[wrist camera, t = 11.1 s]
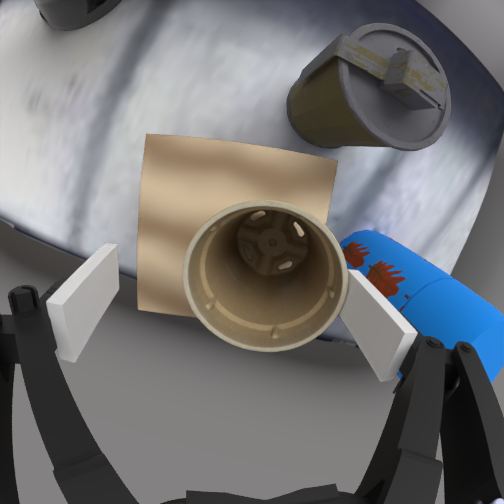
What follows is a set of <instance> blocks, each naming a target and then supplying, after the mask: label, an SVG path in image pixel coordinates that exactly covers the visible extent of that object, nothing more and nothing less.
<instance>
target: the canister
mask: <svg viewBox="0 0 504 504" xmlns="http://www.w3.org/2000/svg"><path fill="white" fill-rule="evenodd" d="M287 111H288V116H289V120H290V122H291V124H292V126H293V128H294V129H295V131H296V132H297V133H298V134H299V135H300V136H301V137H302V138H303V139H304V140H306V141H307V142H309V143H311V144H313V145H315V146H318V147H321V148H328V149H332V148H339V147H343V146H368V147H392V148H395V149H398V150H402V151H417V150H421V149H423V148H426V147H428V146H430V145H432V144H434V143H435V142H436V141H437V140H438V139H439V138H440V136H441V135H442V134H443V132H444V130H445V128H446V126H447V123H448V120H449V117H450V111H451V99H450V89H449V84H448V82H447V79H446V76H445V73H444V71H443V69H442V66H441V65H440V63H439V61H438V60H437V58H436V57H435V55H434V54H433V53H432V51H431V50H430V49H429V48H428V47H427V46H426V45H425V44H424V43H423V42H422V41H421V40H420V39H419V38H417V37H416V36H415V35H413V34H412V33H410V32H409V31H407V30H405V29H403V28H400V27H398V26H394V25H391V24H384V23H372V24H368V25H364V26H361V27H360V28H358V29H357V30H355V31H354V32H352V33H351V34H350V35H349V36H348V35H346V34H341V35H339V36H338V37H337V38H336V39H335V40H334V41H333V42H332V43H331V44H329V45H328V46H327V47H326V48H325V49H324V50H323V51H322V52H321V53H320V54H319V55H318V56H317V57H316V58H314V59H313V60H312V61H311V62H310V63H309V64H308V65H307V66H306V67H305V68H304V69H303V70H302V73H301V75H300V77H299V79H298V80H297V81H296V82H295V83H294V85H293V86H292V88H291V90H290V92H289V95H288V98H287Z"/></svg>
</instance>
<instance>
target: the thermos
mask: <svg viewBox="0 0 504 504" xmlns="http://www.w3.org/2000/svg"><path fill="white" fill-rule="evenodd" d="M340 247H341V249H342V252H343V254H344V258H345V261H346V264H347V269H350V270H358V271H359V272H360V273H361V274H362V275H363V276H364V277H365V278H366V279H367V280H368V281H369V282H370V283H371V284H372V285H373V286H374V287H375V288H376V289H377V290H378V291H379V292H380V293H381V294H382V295H383V296H384V297H385V298H386V299H387V300H388V301H389V302H390V303H391V304H392V305H393V306H394V307H395V308H396V310H398V311H399V312H401V313H402V314H404V315H405V317H406V318H407V319H408V320H409V321H410V322H411V323H412V325H414V326H415V327H416V328H417V329H418V330H419V332H420V333H421V334H422V335H423V336H431V337H435V338H437V339H438V340H440V341H441V342H442V343H443V344H444V346H445V348H446V349H453V348H454V346H455V344H456V343H457V342H458V341H464V342H468V343H470V344H471V345H472V346H473V347H474V348H475V350H476V351H477V353H478V356H479V358H480V360H481V362H482V364H483V366H484V369H485V371H486V373H487V376H488V378H489V380H490V383H491V382H492V381H493V380H494V379H495V377H496V376H497V374H498V373H499V371H500V370H501V368H502V367H503V365H504V316H503V314H501V313H500V312H499V311H498V310H497V309H496V308H495V307H494V306H492V305H491V304H489V303H488V302H487V301H485V300H484V299H482V298H481V297H480V296H478V295H477V294H475V293H474V292H473V291H471V290H470V289H468V288H467V287H466V286H464V285H463V284H461V283H460V282H459V281H457V280H455V279H454V278H453V277H451V276H450V275H448V274H447V273H445V272H444V271H442V270H441V269H439V268H438V267H436V266H435V265H433V264H431V263H430V262H428V261H427V260H425V259H424V258H422V257H420V256H419V255H417V254H416V253H414V252H412V251H411V250H409V249H408V248H406V247H404V246H403V245H401V244H399V243H398V242H396V241H394V240H393V239H391V238H389V237H387V236H385V235H383V234H380V233H378V232H376V231H369V230H363V231H359V232H355V233H353V234H352V235H350V236H349V237H347V238H346V239H344V240H343V241H342V242H341V244H340ZM397 375H398V376H399V378H400V379H401V377H402V376H403V375H402V374H401V372H400V371H398V373H397Z"/></svg>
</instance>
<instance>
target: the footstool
mask: <svg viewBox="0 0 504 504" xmlns="http://www.w3.org/2000/svg"><path fill="white" fill-rule="evenodd" d="M337 164H338V161H336V160H332V159H328V158H323V157H318V156H314V155H309V154H304V153H299V152H294V151H288V150H283V149H277V148H271V147H265V146H259V145H253V144H246V143H239V142H231V141H223V140H215V139H206V138H196V137H185V136H173V135H158V134H146V140H145V148H144V157H143V166H142V176H141V188H140V201H139V218H138V245H137V293H138V310H144V311H150V312H157V313H166V314H173V315H182V316H190V317H196V315H195V313H194V311H193V310H192V309H191V306H190V304H189V302H188V300H187V297H186V294H185V290H184V285H183V278H182V275H183V274H182V272H183V263H184V258H185V254H186V250H187V248H188V246H189V244H190V242H191V240H192V238H193V237H194V235H195V233H196V232H197V231H198V230H199V229H200V227H201V226H202V225H203V224H204V223H205V222H206V221H207V220H209V219H210V218H211V217H212V216H214V215H215V214H217V213H218V212H220V211H222V210H223V209H225V208H227V207H230V206H232V205H235V204H238V203H242V202H247V201H253V200H273V201H280V202H285V203H289V204H292V205H295V206H297V207H299V208H301V209H304V210H305V211H307V212H309V213H310V214H312V215H313V216H315V217H316V218H317V219H319V220H320V221H321V222H322V223H323V224H324V225H325V226H326V221H327V216H328V211H329V206H330V201H331V196H332V191H333V186H334V180H335V175H336V169H337ZM263 215H265V212H264V211H259V212H257V213H255V214H254V215H253V216H252V217H251V220H252V221H254V220H256V219H257V218H259V217H261V216H263ZM294 226H295V227H296V229H297V231H298V234H299V236H303V235H304V232H303V230H302V229H301V227H300V226H299V225H298V224H297V223H296V222H295V223H294ZM274 244H275V241H273V240H271V241H270V245H274ZM244 251H245V253H246V255H247V257H248V258H249V259H251V258H252V257H251V255H250V253H251V252H249V251H248V250H247V248H245V249H244ZM291 265H292V262H291V261H289V262H286V263H284V264H282V265H280V266H279V269H284V268H288V267H290V266H291Z"/></svg>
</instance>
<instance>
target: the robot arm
mask: <svg viewBox="0 0 504 504" xmlns="http://www.w3.org/2000/svg"><path fill="white" fill-rule="evenodd" d="M34 2H35V4H36V6H37V8H38V9H39V11H40V15H41V17H42V19H43V20H44V21H45V22H46V23H47V24H48V25H50V26H52V27H53V28H55V29H58V30H73V29H78V28H81V27H84V26H86V25H88V24H90V23H92V22H94V21H96V20H98V19H99V18H101V17H103V16H104V15H105V14H107V13H108V12H109V11H111V10H112V9H113V8H114V7H115V6H116V5H118V4H119V3H120V2H121V0H34ZM347 270H348V288H347V294H346V298H345V301H344V303H343V306H342V308H341V310H340V312H339V316H340V318H341V319H342V321H343V322H344V324H345V325H346V327H347V328H348V330H349V332H350V333H351V335H352V336H353V338H354V340H355V341H356V343H357V344H358V346H359V348H360V349H361V351H362V352H363V354H364V355H365V357H366V359H367V360H368V362H369V364H370V365H371V367H372V368H373V370H374V372H375V373H376V375H377V377H378V378H379V380H380V382H384V381H392V380H394V378H395V376H396V375H397V373H398V371H400V372H401V374H402V375H403V376H402V377H401V379H400V381H399V383H398V384H397V386H396V388H395V390H394V391H393V393H395V392H396V394H395V397H394V400H393V404H392V406H391V410H390V412H389V416H388V418H387V421H386V424H385V427H384V429H383V432H382V435H381V437H380V440H379V443H378V445H377V448H376V450H375V453H374V455H373V458H372V460H371V462H370V464H369V467H368V469H367V471H366V473H365V475H364V477H363V480H362V482H361V484H360V486H359V487H358V489H357V491H356V492H355V493H354V494H351V493H347V492H340V491H338V490H337V487H336V484H330V485H325V486H319V487H312V488H304V489H300V490H297V491H294V492H292V493H289V494H286V495H282V496H279V497H276V498H272V499H269V500H261V499H255V498H249V497H244V496H239V495H234V494H229V493H219V492H200V491H188V490H187V491H186V498H182V499H176V500H171V501H167V502H164V503H161V504H435V500H436V496H437V492H438V487H439V483H440V479H441V474H442V468H443V470H444V492H445V504H504V417H503V414H502V411H501V409H500V406H499V403H498V400H497V398H496V395H495V393H494V390H493V388H492V385H491V383H490V380H489V378H488V376H487V373H486V371H485V369H484V366H483V364H482V362H481V360H480V358H479V356H478V353H477V351H476V350H475V348H474V347H473V346H472V345H471V344H470V343H468V342H464V341H458V342H457V343H456V344H455V346H454V348H453V349H446V348H445V346H444V344H443V343H442V342H441V341H440V340H438V339H437V338H435V337H431V336H423V335H422V334H421V333H420V332H419V330H418V329H417V328H416V327H415V326H414V325H412V323H411V322H410V321H409V320H408V319H407V318H406V317H405V315H404V314H402V313H401V312H399V311H398V310H396V308H395V307H394V306H393V305H392V304H391V303H390V302H389V301H388V300H387V299H386V298H385V297H384V296H383V295H382V294H381V293H380V292H379V291H378V290H377V289H376V288H375V287H374V286H373V285H372V284H371V283H370V282H369V281H368V280H367V279H366V278H365V277H364V276H363V275H362V274H361V273H360V272H359V271H358V270H350V269H347ZM118 290H119V273H118V244H112V243H105V244H104V245H103V246H102V247H100V248H99V249H98V250H97V251H96V252H95V253H94V254H93V255H92V256H91V257H90V258H89V259H88V260H87V261H86V262H85V263H84V264H83V265H81V267H79V268H78V270H76V271H75V272H74V273H73V274H72V275H71V276H70V277H69V278H68V279H66V278H63V279H61V280H59V281H57V282H55V283H54V284H53V285H52V286H51V287H50V289H48V290H47V291H46V293H44V294H43V295H42V297H40V298H39V296H38V291H37V289H36V288H35V287H33V286H30V285H22V286H18V287H16V288H14V289H12V290H11V291H10V292H9V294H8V299H9V303H10V307H11V311H12V315H1V314H0V504H20V503H19V498H18V491H17V485H16V478H15V469H14V459H13V445H12V397H13V382H14V371H15V363H16V364H20V365H21V369H22V374H23V378H24V382H25V386H26V390H27V393H28V397H29V400H30V404H31V407H32V411H33V414H34V417H35V420H36V423H37V426H38V429H39V431H40V434H41V437H42V440H43V442H44V445H45V447H46V450H47V452H48V455H49V457H50V459H51V462H52V464H53V466H54V470H53V473H54V476H55V479H56V481H57V483H58V485H59V487H60V489H61V491H62V493H63V494H64V497H65V498H66V501H67V502H68V504H139V503H138V502H137V501H136V499H135V498H134V497H133V495H132V494H131V493H130V491H129V490H128V489H127V487H126V486H125V484H124V483H123V482H122V480H121V479H120V477H119V476H118V474H117V473H116V471H115V470H114V468H113V467H112V465H111V464H110V463H109V461H108V459H107V458H106V456H105V455H104V454H103V453H102V451H101V450H100V448H99V447H98V445H97V443H96V441H95V440H94V438H93V436H92V434H91V433H90V431H89V429H88V427H87V425H86V423H85V421H84V419H83V417H82V415H81V413H80V411H79V409H78V407H77V405H76V403H75V401H74V399H73V397H72V394H71V392H70V390H69V387H68V385H67V383H66V380H65V378H64V375H63V373H62V370H61V368H60V365H59V363H58V360H57V357H56V355H55V350H56V349H57V350H58V353H59V357H60V359H63V360H66V361H70V362H74V363H75V362H76V360H77V359H78V357H79V355H80V353H81V352H82V350H83V348H84V346H85V344H86V343H87V341H88V339H89V338H90V336H91V334H92V332H93V331H94V329H95V327H96V326H97V324H98V322H99V321H100V319H101V317H102V316H103V314H104V312H105V311H106V309H107V307H108V306H109V304H110V303H111V301H112V299H113V298H114V296H115V294H116V293H117V292H118ZM439 433H440V437H441V445H442V456H443V463H442V462H441V461H439V460H436V459H435V457H436V451H437V445H438V439H439Z"/></svg>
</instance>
